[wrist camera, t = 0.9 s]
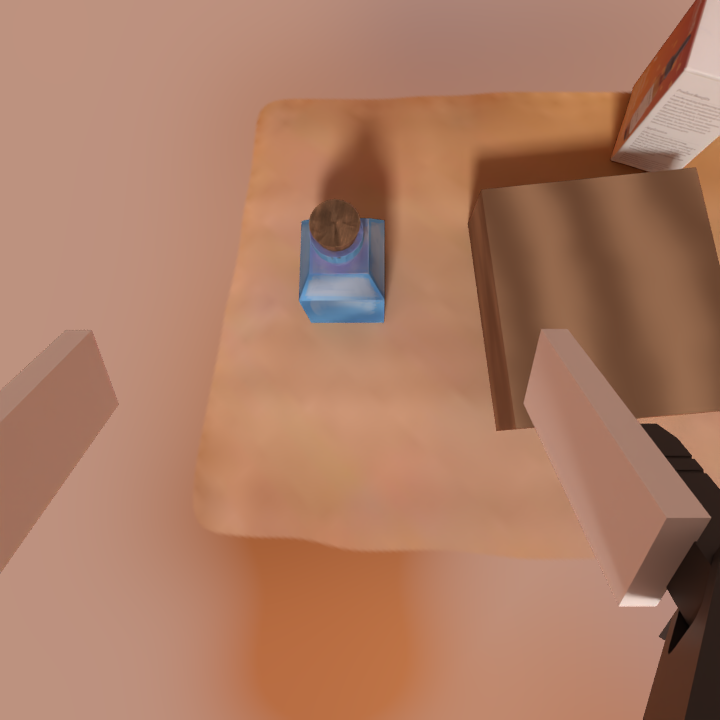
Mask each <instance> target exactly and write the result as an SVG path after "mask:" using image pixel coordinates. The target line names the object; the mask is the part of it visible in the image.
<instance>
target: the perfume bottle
mask: <svg viewBox="0 0 720 720" xmlns="http://www.w3.org/2000/svg"><path fill="white" fill-rule="evenodd" d="M384 300H385V220H379V219H371V218H360V217H359V214H358V212H357V210H356V209H355V208H354V207H353V206H352V205H351V204H350V203H348V202H346V201H344V200H338V199H333V200H327V201H325V202H323V203H321V204H319V205H318V206H317V207H316V208H315V209H314V210H313V212H312V214H311V215H310V219H309V220H304V221H302V225H301V254H300V283H299V302H300V304H301V305H302V307H303V309H304V311H305V312H306V314H307V316H308V318H309V319H310V321H311V323H379V322H384Z"/></svg>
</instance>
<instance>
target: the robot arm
mask: <svg viewBox="0 0 720 720" xmlns="http://www.w3.org/2000/svg"><path fill="white" fill-rule="evenodd" d="M523 404H524V406H525V408H526V410H527V412H528V414H529V416H530V419H531V421H532V423H533V425H534V427H535V429H536V431H537V433H538V436H539V438H540V440H541V442H542V444H543V446H544V448H545V450H546V453H547V455H548V457H549V459H550V461H551V463H552V465H553V467H554V470H555V472H556V474H557V476H558V478H559V480H560V482H561V485H562V487H563V489H564V491H565V493H566V495H567V497H568V499H569V502H570V504H571V506H572V508H573V510H574V512H575V514H576V516H577V519H578V521H579V523H580V525H581V527H582V529H583V531H584V533H585V536H586V538H587V540H588V542H589V544H590V546H591V548H592V551H593V553H594V555H595V557H596V559H597V561H598V563H599V565H600V568H601V570H602V572H603V574H604V576H605V578H606V580H607V582H608V585H609V587H610V589H611V591H612V593H613V595H614V597H615V599H616V602H617V604H618V606H657V604H658V603H659V601H660V600H661V598H662V596H663V595H664V593H665V592H666V590H668V591H669V593H670V595H671V596H672V598H673V600H674V602H675V603H676V605H677V607H678V609H677V610H676V612H675V613H674V615H673V616H672V618H671V619H670V621H669V622H668V624H667V625H666V627H665V628H664V630H663V631H662V633H661V634H660V635H659V637H660V638H662V639H663V640H665V639H666V640H665V644H664V647H663V651H662V654H661V657H660V661H659V664H658V668H657V672H656V675H655V678H654V682H653V685H652V689H651V693H650V696H649V699H648V703H647V707H646V710H645V713H644V717H643V720H720V489H719V488H718V487H717V485H716V484H715V483H714V482H713V481H712V479H711V478H710V477H709V476H708V475H707V473H704V472H703V469H702V467H701V466H700V465H699V464H698V463H697V461H696V460H695V459H692V455H691V454H690V453H689V452H688V450H687V449H686V448H685V447H684V446H683V444H682V443H681V442H680V441H679V440H678V438H676V437H675V436H673V435H672V434H670V433H669V432H668V431H666V430H665V429H663V428H662V427H661V426H659V425H658V424H640V423H639V422H638V421H637V419H636V418H635V417H634V416H633V414H632V413H631V412H630V410H629V409H628V408H627V406H626V405H625V404H624V402H623V401H622V400H621V398H620V397H619V396H618V395H617V393H616V392H615V391H614V389H613V388H612V387H611V385H610V384H609V383H608V381H607V380H606V379H605V377H604V376H603V375H602V374H601V372H600V371H599V370H598V368H597V367H596V366H595V364H594V363H593V362H592V360H591V359H590V358H589V356H588V355H587V354H586V353H585V351H584V350H583V349H582V347H581V346H580V345H579V343H578V342H577V341H576V339H575V338H574V337H573V335H572V334H571V333H570V332H569V330H568V329H541V332H540V336H539V340H538V344H537V349H536V353H535V357H534V361H533V365H532V370H531V374H530V378H529V382H528V386H527V391H526V395H525V399H524V403H523ZM118 405H119V403H118V401H117V398H116V395H115V392H114V390H113V387H112V384H111V381H110V379H109V376H108V373H107V370H106V368H105V365H104V363H103V359H102V357H101V354H100V351H99V349H98V346H97V343H96V340H95V337H94V335H93V332H92V330H65V331H64V332H63V333H62V334H61V335H60V336H59V337H58V338H57V339H56V340H54V341H53V342H52V343H51V344H50V345H49V346H48V347H47V348H46V349H45V350H44V351H43V352H42V353H40V354H39V355H38V356H37V357H36V358H35V359H34V360H33V361H32V362H31V363H29V364H28V365H27V366H26V367H25V368H24V369H23V370H22V371H21V372H20V373H19V374H18V375H16V376H15V377H14V378H13V379H12V380H11V381H10V382H9V383H8V384H7V385H6V386H5V387H3V388H2V390H0V573H1V572H2V570H3V569H4V567H5V566H6V565H7V563H8V562H9V560H10V559H11V557H12V556H13V555H14V553H15V552H16V550H17V549H18V547H19V546H20V545H21V543H22V541H23V540H24V539H25V537H26V536H27V535H28V533H29V532H30V530H31V529H32V527H33V526H34V525H35V523H36V522H37V520H38V519H39V517H40V516H41V515H42V513H43V512H44V510H45V509H46V507H47V506H48V505H49V503H50V502H51V500H52V499H53V497H54V496H55V495H56V493H57V491H58V490H59V489H60V488H61V486H62V484H63V483H64V482H65V480H66V479H67V477H68V476H69V475H70V473H71V472H72V470H73V469H74V467H75V466H76V465H77V463H78V462H79V460H80V459H81V458H82V456H83V455H84V453H85V452H86V450H87V449H88V447H89V446H90V444H91V443H92V442H93V440H94V439H95V437H96V436H97V435H98V433H99V432H100V430H101V429H102V428H103V426H104V425H105V423H106V422H107V420H108V419H109V417H110V416H111V415H112V413H113V412H114V410H115V409H116V407H117V406H118Z"/></svg>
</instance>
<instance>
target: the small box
mask: <svg viewBox="0 0 720 720" xmlns="http://www.w3.org/2000/svg"><path fill="white" fill-rule="evenodd" d="M719 135H720V0H696V1H695V2H694V4H693V5H692V6H691V8H690V9H689V10H688V12H687V13H686V14H685V16H684V17H683V19H682V20H681V21H680V23H679V24H678V25H677V27H676V28H675V29H674V31H673V32H672V34H671V35H670V37H669V38H668V39H667V40H666V42H665V43H664V45H663V46H662V47H661V49H660V50H659V52H658V53H657V54H656V56H655V57H654V59H653V60H652V61H651V63H650V64H649V65H648V67H647V68H646V69H645V71H644V72H643V74H642V75H641V76H640V78H639V79H638V81H637V82H636V84H635V85H634V87H633V90H632V93H631V97H630V101H629V104H628V107H627V110H626V114H625V117H624V120H623V123H622V125H621V128H620V131H619V134H618V138H617V141H616V144H615V147H614V150H613V153H612V156H611V160H612V161H615V162H619V163H622V164H625V165H629V166H632V167H635V168H638V169H642V170H645V171H648V172H656V171H666V170H675V169H682V168H683V167H684V166H686V165H687V164H688V163H689V162H690V161H691V160H692V159H693V158H695V157H696V156H697V155H698V154H699V153H700V152H701V151H702V150H704V149H705V148H706V147H707V146H708V145H709V144H710V143H712V142H713V141H714V140H715V139H716V138H717V137H718V136H719Z"/></svg>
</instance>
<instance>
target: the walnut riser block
mask: <svg viewBox="0 0 720 720" xmlns="http://www.w3.org/2000/svg"><path fill="white" fill-rule="evenodd" d="M468 228H469V236H470V243H471V250H472V257H473V265H474V272H475V279H476V286H477V294H478V301H479V308H480V315H481V323H482V330H483V337H484V344H485V352H486V359H487V366H488V374H489V381H490V388H491V395H492V403H493V410H494V417H495V424H496V431H501V430H513V429H524V428H535V427H534V425H533V423H532V421H531V419H530V416H529V414H528V412H527V410H526V408H525V406H524V404H523V403H524V399H525V395H526V391H527V386H528V382H529V378H530V374H531V370H532V365H533V361H534V357H535V353H536V349H537V344H538V340H539V336H540V332H541V329H568V330H569V332H570V333H571V334H572V335H573V337H574V338H575V339H576V341H577V342H578V343H579V345H580V346H581V347H582V349H583V350H584V351H585V353H586V354H587V355H588V356H589V358H590V359H591V360H592V362H593V363H594V364H595V366H596V367H597V368H598V370H599V371H600V372H601V374H602V375H603V376H604V377H605V379H606V380H607V381H608V383H609V384H610V385H611V387H612V388H613V389H614V391H615V392H616V393H617V395H618V396H619V397H620V398H621V400H622V401H623V402H624V404H625V405H626V406H627V408H628V409H629V410H630V412H631V413H632V414H633V416H634V417H635V418H636V419H638V418H649V417H661V416H672V415H683V414H695V413H705V412H716V411H720V265H719V261H718V257H717V252H716V248H715V244H714V240H713V236H712V231H711V227H710V223H709V219H708V215H707V211H706V206H705V202H704V198H703V194H702V190H701V185H700V181H699V177H698V173H697V169H696V167H695V168H685V169H675V170H666V171H656V172H646V173H637V174H627V175H617V176H608V177H598V178H588V179H579V180H569V181H559V182H550V183H540V184H530V185H521V186H511V187H501V188H492V189H482V190H481V192H480V194H479V197H478V200H477V202H476V205H475V207H474V210H473V212H472V215H471V217H470V220H469V222H468Z"/></svg>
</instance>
